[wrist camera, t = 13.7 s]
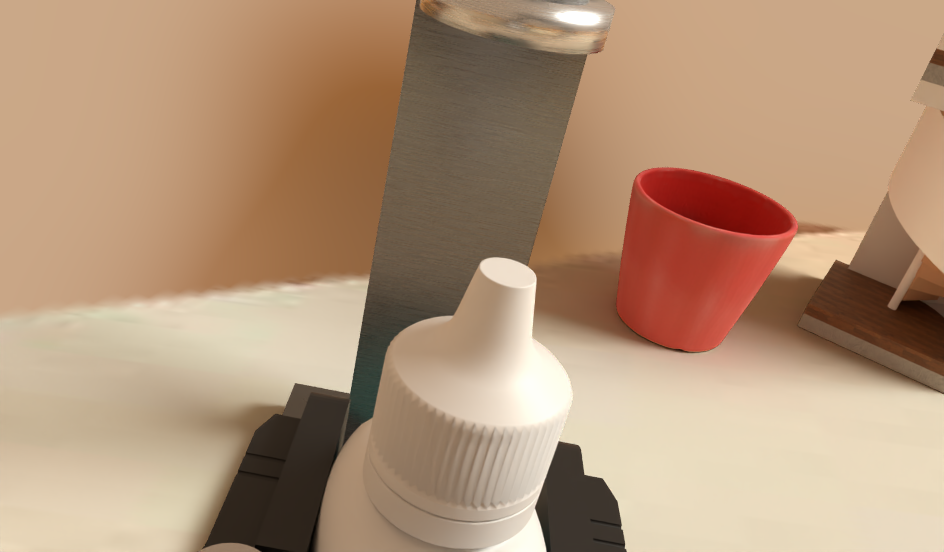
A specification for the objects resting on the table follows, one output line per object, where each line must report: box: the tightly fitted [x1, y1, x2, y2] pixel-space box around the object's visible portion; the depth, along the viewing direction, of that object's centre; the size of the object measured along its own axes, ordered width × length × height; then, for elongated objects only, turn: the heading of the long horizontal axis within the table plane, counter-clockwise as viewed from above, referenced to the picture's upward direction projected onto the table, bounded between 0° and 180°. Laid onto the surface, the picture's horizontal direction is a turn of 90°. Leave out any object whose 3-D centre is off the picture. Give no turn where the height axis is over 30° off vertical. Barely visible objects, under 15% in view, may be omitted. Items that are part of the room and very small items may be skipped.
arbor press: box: [283, 0, 615, 447], centre depth 23 cm, size 18×25×32 cm
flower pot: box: [616, 168, 798, 352], centre depth 52 cm, size 11×11×10 cm
